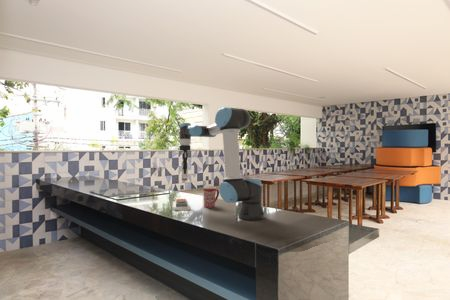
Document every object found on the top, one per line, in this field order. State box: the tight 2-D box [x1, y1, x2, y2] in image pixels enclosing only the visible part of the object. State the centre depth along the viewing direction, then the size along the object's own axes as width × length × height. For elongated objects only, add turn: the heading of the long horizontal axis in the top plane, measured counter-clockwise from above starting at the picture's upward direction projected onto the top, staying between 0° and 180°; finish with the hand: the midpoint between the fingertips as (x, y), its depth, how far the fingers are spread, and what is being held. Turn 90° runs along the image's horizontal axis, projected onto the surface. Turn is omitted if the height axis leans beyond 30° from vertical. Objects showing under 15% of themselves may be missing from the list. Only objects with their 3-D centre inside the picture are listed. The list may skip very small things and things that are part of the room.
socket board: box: [172, 198, 191, 211], centre depth 208 cm, size 11×22×4 cm, turn 10°
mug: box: [202, 186, 220, 209], centre depth 210 cm, size 13×9×14 cm
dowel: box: [181, 162, 188, 182], centre depth 211 cm, size 4×4×12 cm
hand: (184, 177), depth 211 cm, fingers closed on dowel, 4 cm apart
